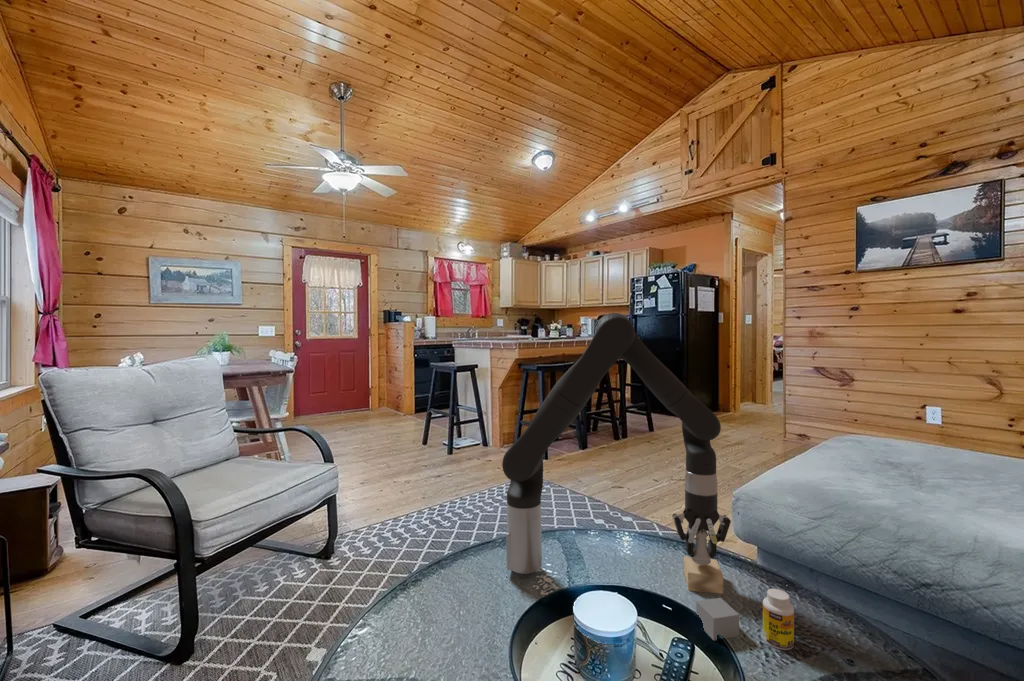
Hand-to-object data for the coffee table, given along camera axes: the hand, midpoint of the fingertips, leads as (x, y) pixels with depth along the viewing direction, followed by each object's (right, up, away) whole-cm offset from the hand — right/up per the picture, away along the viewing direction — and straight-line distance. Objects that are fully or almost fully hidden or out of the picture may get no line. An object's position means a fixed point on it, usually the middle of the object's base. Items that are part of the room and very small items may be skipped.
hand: (701, 555), depth 112 cm
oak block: (+1, -8, +1) cm, 8 cm away
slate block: (-4, -8, -16) cm, 19 cm away
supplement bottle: (+7, -8, -21) cm, 23 cm away
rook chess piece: (0, -2, 0) cm, 2 cm away
